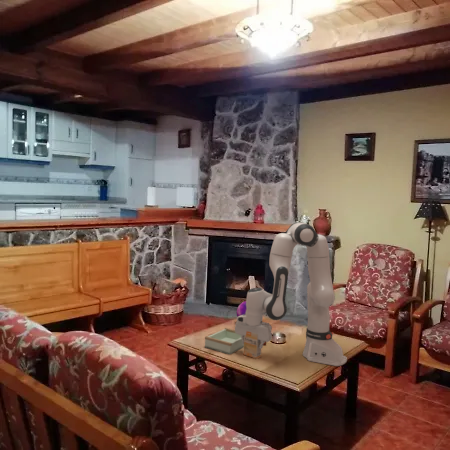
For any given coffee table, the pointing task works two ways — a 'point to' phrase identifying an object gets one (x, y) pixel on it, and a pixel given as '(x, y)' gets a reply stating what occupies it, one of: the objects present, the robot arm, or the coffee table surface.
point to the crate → (224, 341)
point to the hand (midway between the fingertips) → (252, 345)
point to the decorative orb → (241, 309)
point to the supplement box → (252, 345)
